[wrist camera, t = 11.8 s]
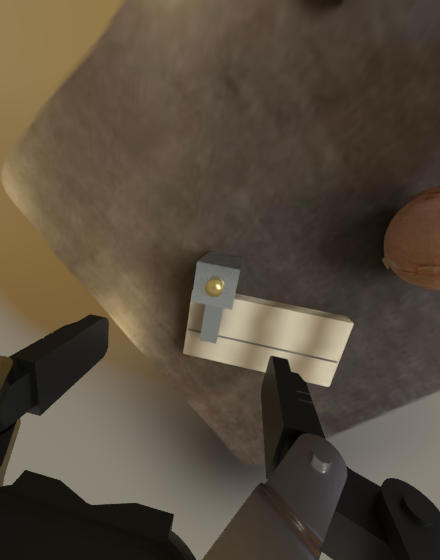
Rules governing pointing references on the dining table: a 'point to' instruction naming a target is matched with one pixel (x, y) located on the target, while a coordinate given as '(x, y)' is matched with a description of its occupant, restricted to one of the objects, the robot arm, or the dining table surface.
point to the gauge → (215, 289)
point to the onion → (416, 241)
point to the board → (272, 337)
